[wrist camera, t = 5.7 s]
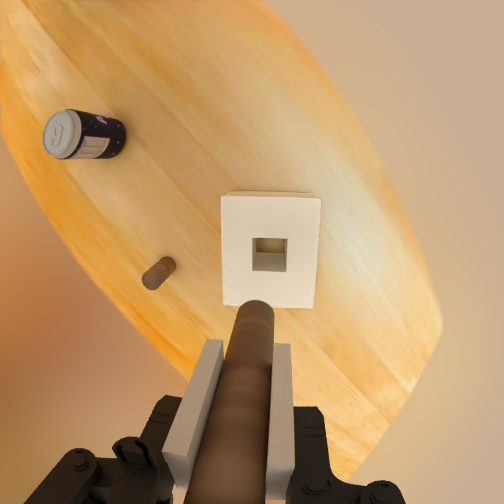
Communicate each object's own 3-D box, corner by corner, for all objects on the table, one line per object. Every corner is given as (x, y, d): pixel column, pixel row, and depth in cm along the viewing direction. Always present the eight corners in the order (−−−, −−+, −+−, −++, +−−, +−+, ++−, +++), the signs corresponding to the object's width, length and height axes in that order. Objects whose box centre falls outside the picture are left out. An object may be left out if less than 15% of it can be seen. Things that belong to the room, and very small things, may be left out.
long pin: (237, 298, 18) (170, 510, 5) (275, 300, 18) (264, 524, 5) (237, 331, 19) (185, 533, 5) (273, 333, 19) (260, 543, 5)
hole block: (231, 191, 35) (220, 196, 29) (312, 192, 35) (320, 198, 28) (232, 281, 39) (223, 305, 32) (307, 284, 38) (313, 308, 31)
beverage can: (134, 123, 34) (81, 110, 22) (122, 162, 35) (67, 164, 24) (102, 116, 34) (48, 105, 22) (91, 153, 35) (35, 154, 24)
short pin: (159, 256, 39) (140, 271, 33) (175, 257, 38) (158, 272, 33) (160, 272, 39) (143, 289, 34) (176, 273, 39) (160, 290, 33)
